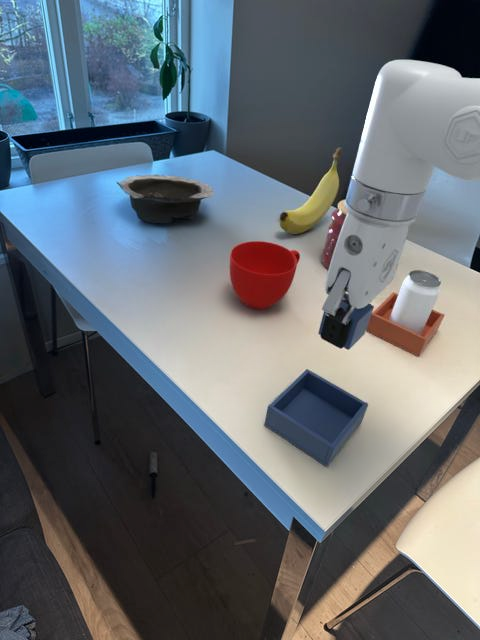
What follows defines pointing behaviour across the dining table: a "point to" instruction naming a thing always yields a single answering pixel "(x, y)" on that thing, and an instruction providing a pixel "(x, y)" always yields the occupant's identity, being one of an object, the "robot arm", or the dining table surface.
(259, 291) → the ceramic cup
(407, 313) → the can
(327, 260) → the kitchen canister
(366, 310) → the block
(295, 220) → the banana
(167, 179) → the stone bowl
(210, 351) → the dining table surface
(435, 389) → the dining table surface
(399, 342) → the terracotta bin
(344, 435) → the slate bin
